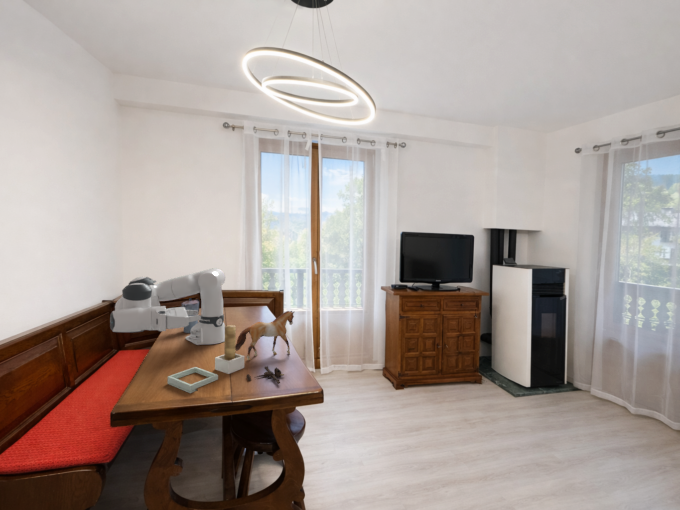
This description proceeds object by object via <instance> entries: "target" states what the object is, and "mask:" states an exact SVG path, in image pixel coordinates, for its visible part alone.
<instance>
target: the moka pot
mask: <svg viewBox="0 0 680 510" xmlns="http://www.w3.org/2000/svg"><path fill="white" fill-rule="evenodd" d="M181 307H185V309H186V310H198V315H200V314H199V313H200V312H199V311H200V308H201V300H199V298H197V299H195V300H192V297H189V298H188V300H186V301H183V302H181ZM188 316H196V315H188ZM198 322H199V320H197V321H193V322H189V325H188V326H186V327H183V333H185V334H190V332H191V328H192V327H193V326H194V325H196V324H197V323H198Z"/></svg>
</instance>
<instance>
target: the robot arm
mask: <svg viewBox="0 0 680 510" xmlns="http://www.w3.org/2000/svg"><path fill="white" fill-rule="evenodd" d="M225 281H226V274H225V272H224V271H223V270H222V269H220V268H217V267H214V268H209V269H205V270H201V271H198V272H192V273H189V274H185V275H183V276H182V275H181V276H177V277H174V278H170V279H166V280H163V281H161V282H159V283H157V280H154V279H153V278H150V277H148V276H139V277H135V278H134V279H132V280H131V281H129V282H128V284H127V285H126V286H124V288H123V289H122V290H121V293H122V295H121V297H120V298H118V300H116V302H115V304H114V310H113V311H111V313H110V317H109V327H110V330H111V331H112V332H113V333H133V334H135V333H142V332H144V331H158V332H166V331H167V330H173V329H181V328H184V327H186V326H188V325H189V322H193V321H197V320H198V323H197V324H196V325H194V326H193V327H192V328H191V332H190V333H189V335H187V336H185V340H186V341H189V342H190V343H192V344H194V345H197V346H200V345H217V344H220V343H225V326H226V325H225V322H224V321H225V314H224V299H223V289H222V286H223V284H225ZM155 283H157V284H155ZM197 294H200V299H201V300H200V309H201V312H200V314H198V310H186V309H185V307H182V306H178V307H176V306H175V307H169V308H166V307H167V306H166V305H161V303H160V302H165V301H173V300H178V299H183V298H186V297H189V296H194V295H197ZM188 315H196V316H188Z"/></svg>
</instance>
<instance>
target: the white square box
mask: <svg viewBox="0 0 680 510" xmlns="http://www.w3.org/2000/svg"><path fill="white" fill-rule="evenodd" d="M242 369H245V355H242V354H239V353H236V352H235V359H232V360H230V361H228V360H225V359H224V354H221V355H219V356H215V358H214V370H216V371H218V372H222V373H224V374H227V375H230V374H232V373H235V372H237V371H239V370H240V371H241V370H242Z"/></svg>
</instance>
